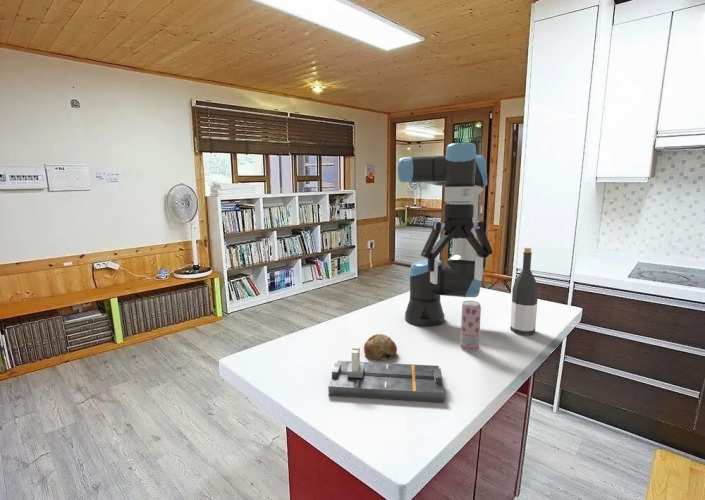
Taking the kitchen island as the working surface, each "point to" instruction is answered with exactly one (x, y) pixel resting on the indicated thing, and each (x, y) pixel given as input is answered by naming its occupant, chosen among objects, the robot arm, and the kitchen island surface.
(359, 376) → the fader
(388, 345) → the bread roll
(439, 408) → the kitchen island surface
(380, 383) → the console
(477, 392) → the kitchen island surface
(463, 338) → the beverage can
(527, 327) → the wine bottle
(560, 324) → the kitchen island surface
